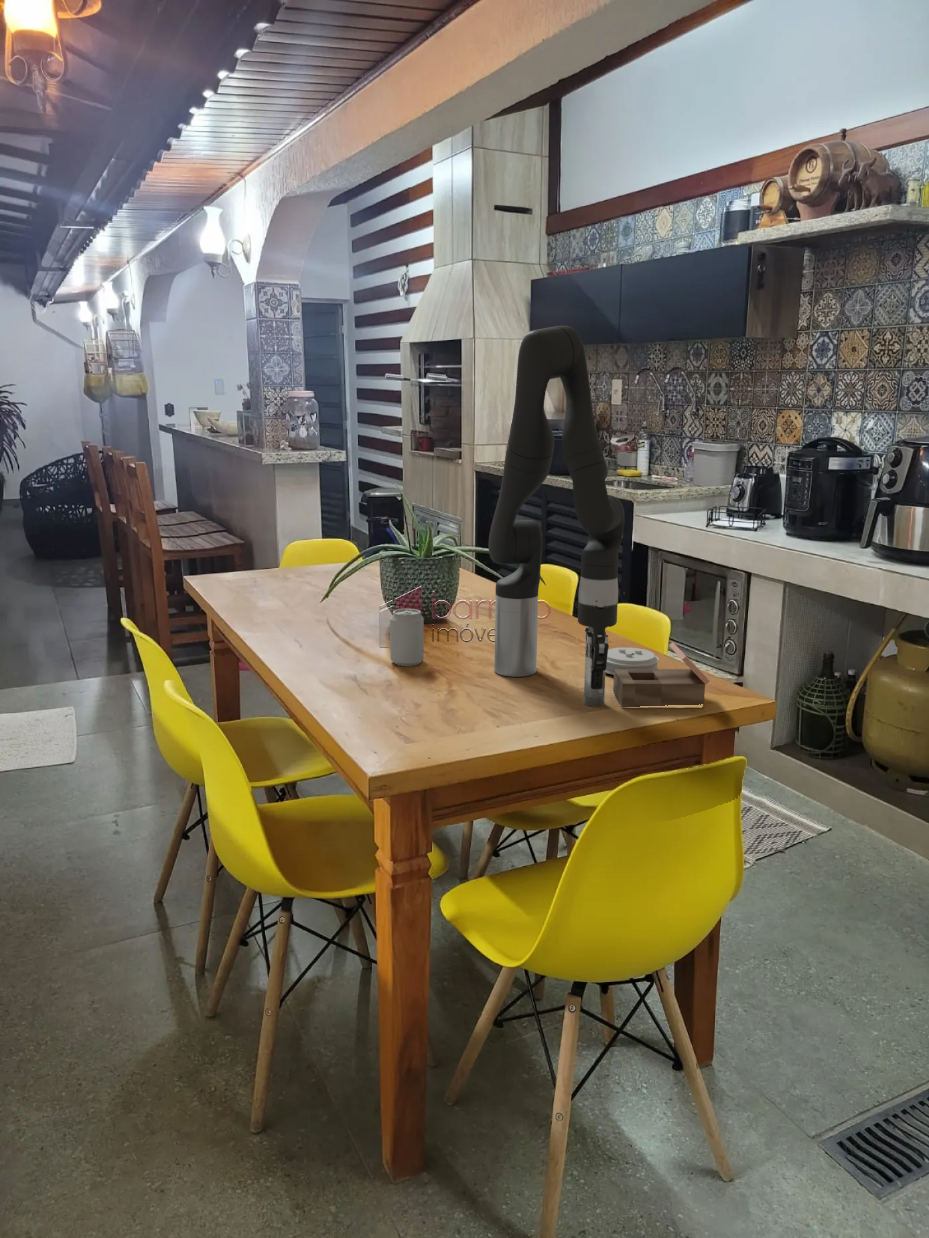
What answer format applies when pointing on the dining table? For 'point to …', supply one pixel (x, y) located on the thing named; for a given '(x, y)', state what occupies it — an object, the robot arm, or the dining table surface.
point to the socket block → (657, 687)
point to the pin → (590, 695)
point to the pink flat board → (689, 663)
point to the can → (407, 637)
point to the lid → (630, 659)
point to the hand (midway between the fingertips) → (594, 684)
